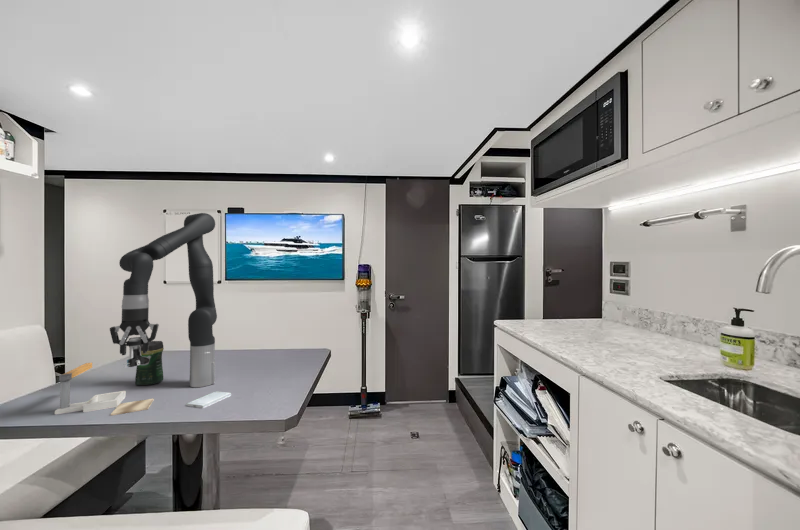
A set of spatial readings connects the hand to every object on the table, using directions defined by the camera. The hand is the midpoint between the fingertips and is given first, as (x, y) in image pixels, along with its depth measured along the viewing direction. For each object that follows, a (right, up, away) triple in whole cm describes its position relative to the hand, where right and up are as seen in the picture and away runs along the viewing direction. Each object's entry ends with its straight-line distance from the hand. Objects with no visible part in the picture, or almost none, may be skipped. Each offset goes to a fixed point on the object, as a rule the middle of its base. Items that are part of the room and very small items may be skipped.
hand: (134, 353), depth 115 cm
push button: (0, -5, 0) cm, 5 cm away
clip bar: (-26, -9, +5) cm, 28 cm away
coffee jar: (-15, -21, +26) cm, 36 cm away
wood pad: (0, -19, -1) cm, 19 cm away
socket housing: (-16, -19, 0) cm, 25 cm away
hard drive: (+25, -20, +5) cm, 32 cm away
